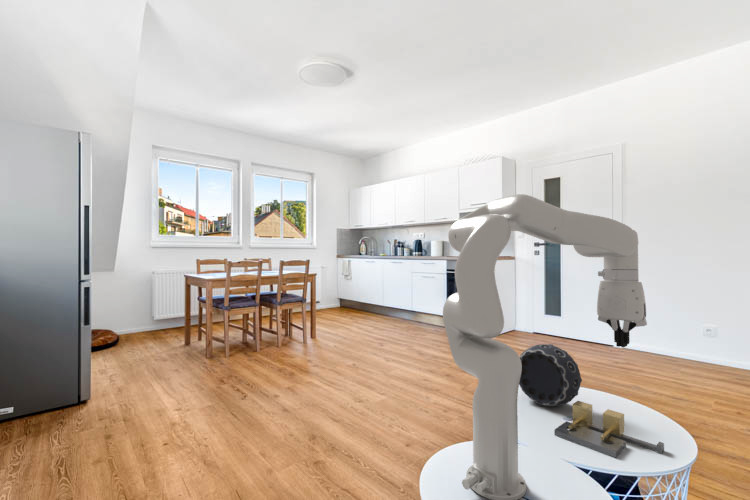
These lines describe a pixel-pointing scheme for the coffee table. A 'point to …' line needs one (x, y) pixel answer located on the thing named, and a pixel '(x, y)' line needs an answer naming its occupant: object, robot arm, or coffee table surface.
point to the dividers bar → (585, 419)
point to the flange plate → (591, 439)
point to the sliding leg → (612, 423)
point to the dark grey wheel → (549, 375)
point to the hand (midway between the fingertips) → (621, 345)
